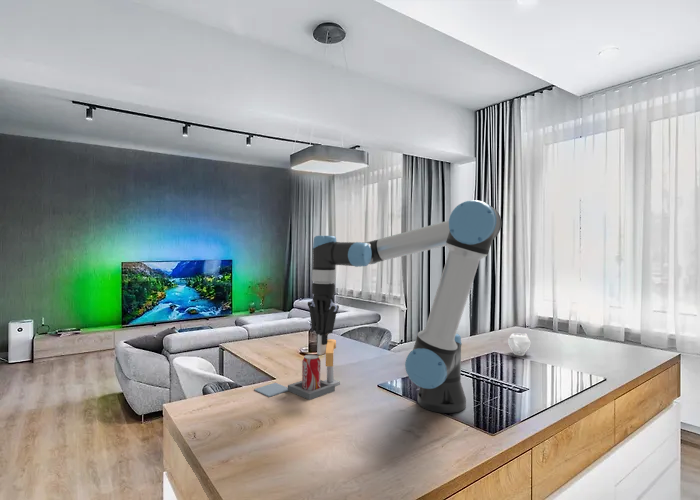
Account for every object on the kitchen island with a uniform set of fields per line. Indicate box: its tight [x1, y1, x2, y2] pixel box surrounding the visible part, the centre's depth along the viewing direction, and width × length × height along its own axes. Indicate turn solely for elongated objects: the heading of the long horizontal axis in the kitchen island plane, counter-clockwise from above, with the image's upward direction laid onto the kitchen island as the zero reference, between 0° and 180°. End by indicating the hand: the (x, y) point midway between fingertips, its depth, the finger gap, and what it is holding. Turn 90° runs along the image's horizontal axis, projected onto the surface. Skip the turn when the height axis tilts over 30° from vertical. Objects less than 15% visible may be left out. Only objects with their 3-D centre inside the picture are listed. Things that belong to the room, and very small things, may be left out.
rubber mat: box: [253, 382, 289, 398], centre depth 141 cm, size 9×9×1 cm
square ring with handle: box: [287, 352, 341, 401], centre depth 143 cm, size 12×17×13 cm
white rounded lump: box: [507, 332, 531, 357], centre depth 189 cm, size 10×20×9 cm, turn 135°
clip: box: [325, 338, 337, 367], centre depth 140 cm, size 4×18×4 cm, turn 1°
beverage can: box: [301, 354, 321, 391], centre depth 141 cm, size 6×6×12 cm
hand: (321, 353), depth 135 cm, fingers closed
